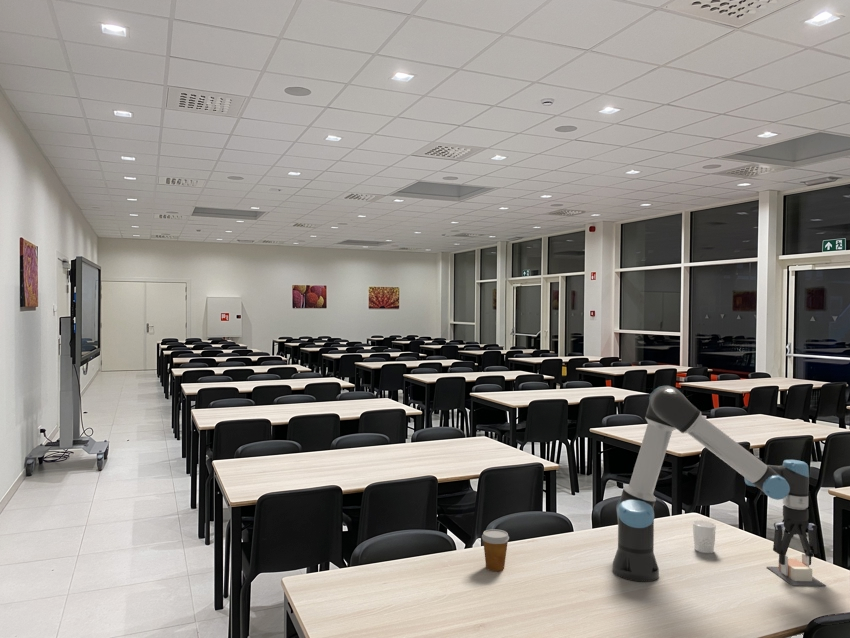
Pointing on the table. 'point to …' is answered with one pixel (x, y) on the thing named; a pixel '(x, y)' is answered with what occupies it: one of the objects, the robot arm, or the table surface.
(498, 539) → the disposable coffee cup
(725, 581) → the table surface
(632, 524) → the robot arm
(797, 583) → the mat
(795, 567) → the flat block
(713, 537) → the white cup
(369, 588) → the table surface
